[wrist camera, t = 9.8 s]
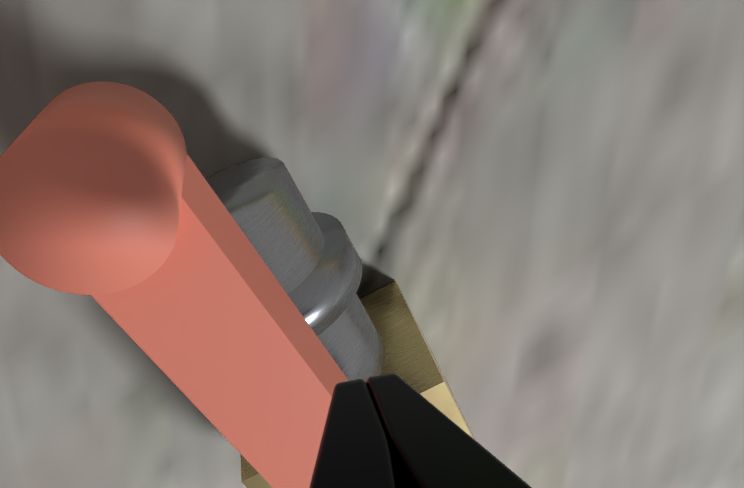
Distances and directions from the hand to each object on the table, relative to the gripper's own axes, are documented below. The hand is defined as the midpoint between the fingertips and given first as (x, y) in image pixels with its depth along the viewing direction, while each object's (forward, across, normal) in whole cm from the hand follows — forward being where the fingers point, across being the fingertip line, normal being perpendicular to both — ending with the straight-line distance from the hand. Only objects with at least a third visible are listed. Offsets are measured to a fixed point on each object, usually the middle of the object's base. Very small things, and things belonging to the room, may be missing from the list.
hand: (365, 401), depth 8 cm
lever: (+6, +1, +4) cm, 7 cm away
